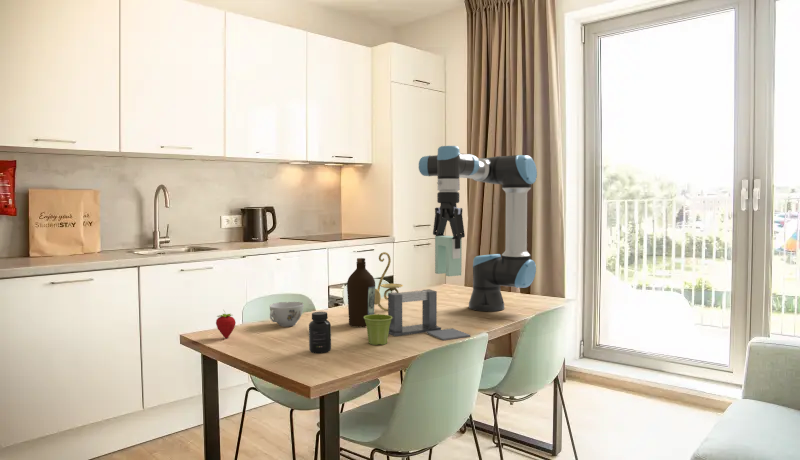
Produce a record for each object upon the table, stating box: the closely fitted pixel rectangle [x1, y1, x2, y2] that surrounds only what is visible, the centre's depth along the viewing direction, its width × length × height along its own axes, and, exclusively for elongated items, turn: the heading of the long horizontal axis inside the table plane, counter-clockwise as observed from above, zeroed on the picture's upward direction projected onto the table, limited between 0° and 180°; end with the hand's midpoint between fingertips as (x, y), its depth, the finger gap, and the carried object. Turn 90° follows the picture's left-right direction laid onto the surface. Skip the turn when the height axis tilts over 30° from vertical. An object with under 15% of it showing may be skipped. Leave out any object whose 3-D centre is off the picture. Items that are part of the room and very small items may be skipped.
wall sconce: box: [374, 251, 404, 312], centre depth 236 cm, size 14×10×25 cm
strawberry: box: [215, 310, 236, 339], centre depth 191 cm, size 6×8×10 cm
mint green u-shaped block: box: [434, 235, 463, 277], centre depth 193 cm, size 5×9×13 cm, turn 28°
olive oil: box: [346, 257, 376, 328], centre depth 210 cm, size 11×11×25 cm
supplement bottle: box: [308, 311, 332, 355], centre depth 175 cm, size 7×7×12 cm
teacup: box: [269, 301, 304, 328], centre depth 209 cm, size 15×12×8 cm
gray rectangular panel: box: [425, 327, 471, 341], centre depth 195 cm, size 11×11×1 cm
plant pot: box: [364, 313, 392, 346], centre depth 184 cm, size 9×9×9 cm
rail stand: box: [387, 289, 442, 337], centre depth 200 cm, size 19×8×14 cm, turn 118°
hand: (448, 257), depth 193 cm, fingers closed on mint green u-shaped block, 9 cm apart
